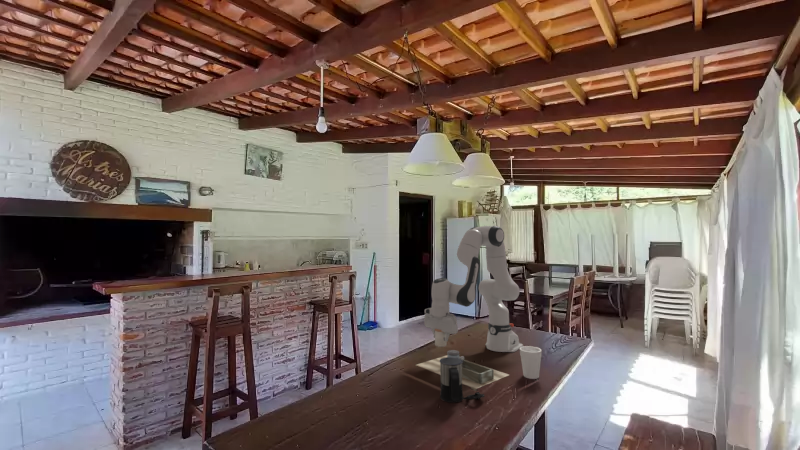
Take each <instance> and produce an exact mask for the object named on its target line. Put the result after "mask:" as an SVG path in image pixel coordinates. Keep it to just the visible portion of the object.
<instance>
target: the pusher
mask: <svg viewBox="0 0 800 450" xmlns="http://www.w3.org/2000/svg"><path fill="white" fill-rule="evenodd" d="M458 359H461V360H462V361H463V362H462V367H463V368H464V360H465V356H464V355H462V356H459V357H458Z"/></svg>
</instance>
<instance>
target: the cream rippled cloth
mask: <svg viewBox="0 0 800 450" xmlns="http://www.w3.org/2000/svg"><path fill="white" fill-rule="evenodd" d="M442 358H447V355H444V356H443V355H442V356H440V357H437V358H434V359H431V360H430V359H429V360H426V361H424V362H421V363H418V364H416V367H417V366H418V367H420V368H422V369H424V370H427V371H429V372H432V373H435V374H438V375H439V376H441V372H440V359H442ZM509 376H510V374H508V373H505V372H503V371H501V370H496V369H493V368H492V367H488V366H485V365H481V364H478V363H476V362H472V361H469V360H467V359H464V368H463V367H462V385H465V386H467V387H470V388H469V389H470V391H471V390H472V391H474V392H479V390H478V389H480V388H481V387H484V386H487V385H489V384H492V383H494V382H497V381H499V380H501V379H503V378H506V377H509Z"/></svg>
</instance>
